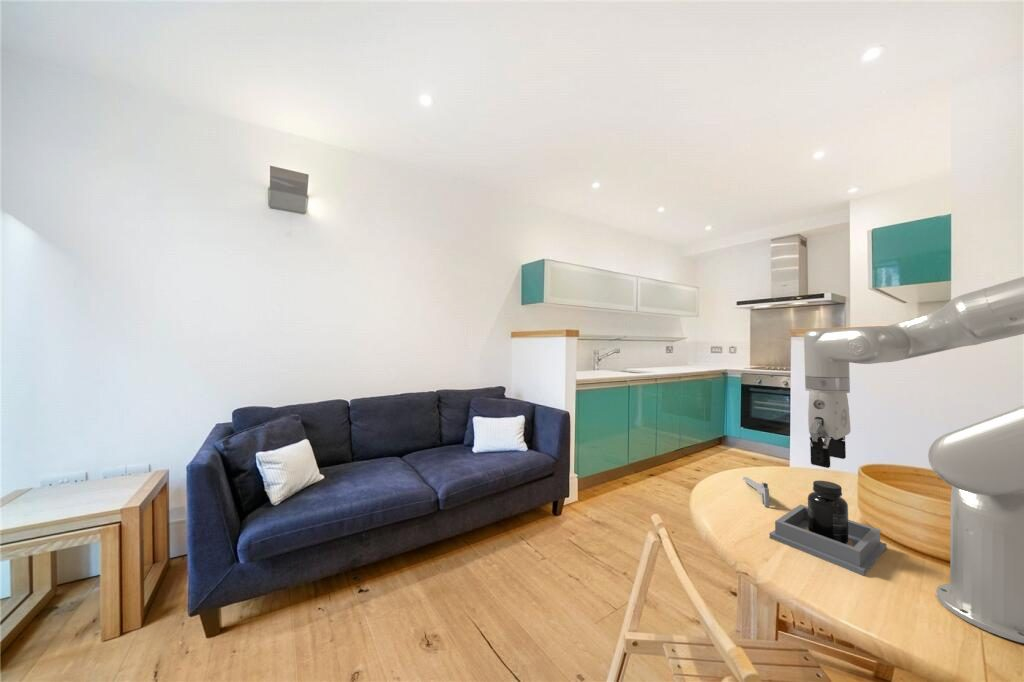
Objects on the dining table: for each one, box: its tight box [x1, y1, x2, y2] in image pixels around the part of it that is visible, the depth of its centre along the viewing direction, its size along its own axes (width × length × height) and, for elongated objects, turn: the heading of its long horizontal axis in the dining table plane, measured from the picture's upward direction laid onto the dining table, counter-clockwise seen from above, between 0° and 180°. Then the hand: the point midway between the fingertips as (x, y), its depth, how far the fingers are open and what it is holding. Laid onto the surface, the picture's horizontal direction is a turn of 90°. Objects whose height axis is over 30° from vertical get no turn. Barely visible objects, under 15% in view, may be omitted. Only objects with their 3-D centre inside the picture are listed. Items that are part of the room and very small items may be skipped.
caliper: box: [742, 476, 771, 508], centre depth 108 cm, size 20×1×6 cm, turn 162°
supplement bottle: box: [807, 479, 849, 544], centre depth 81 cm, size 7×7×12 cm
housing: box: [769, 504, 887, 576], centre depth 81 cm, size 16×16×4 cm
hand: (828, 461), depth 81 cm, fingers open, 9 cm apart
